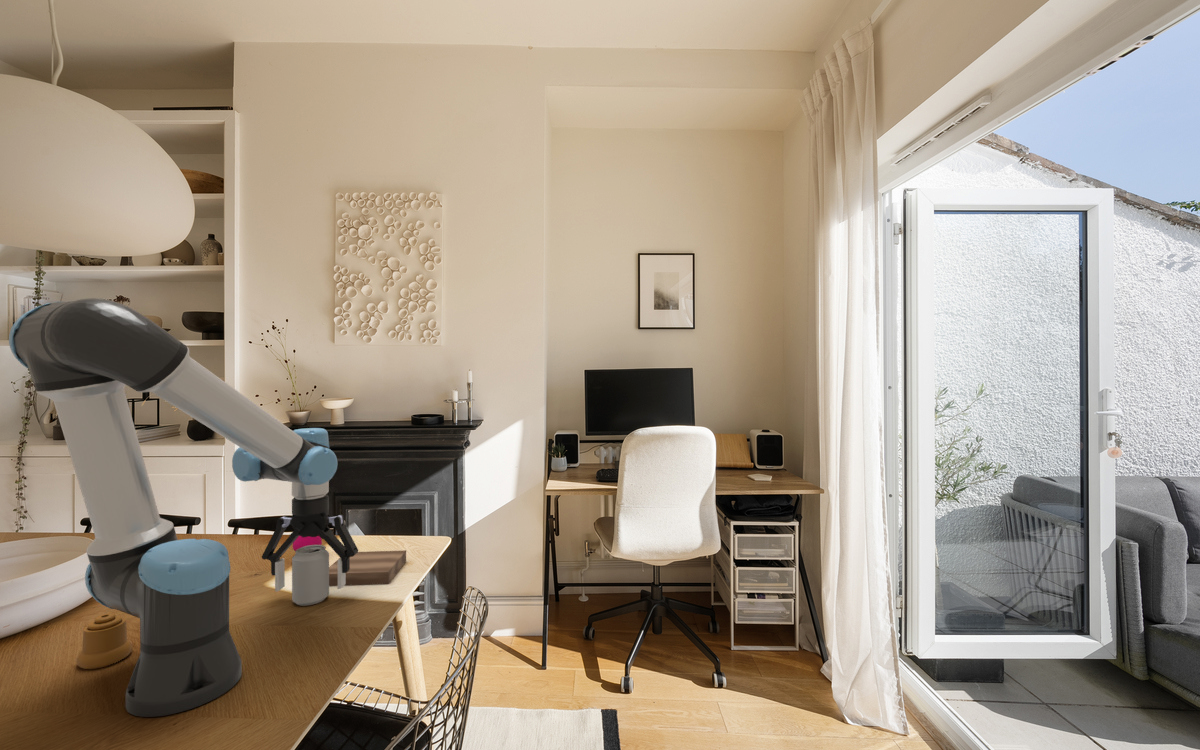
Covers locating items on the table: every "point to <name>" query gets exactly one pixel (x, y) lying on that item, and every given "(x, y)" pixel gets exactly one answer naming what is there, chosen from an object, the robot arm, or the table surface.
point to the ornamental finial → (104, 642)
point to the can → (310, 575)
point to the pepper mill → (306, 542)
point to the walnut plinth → (370, 568)
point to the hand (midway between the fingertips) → (310, 587)
